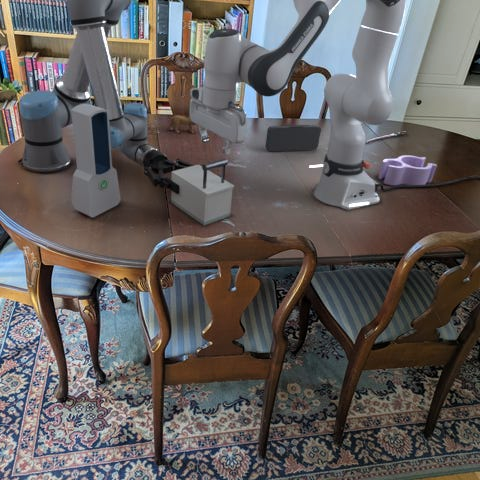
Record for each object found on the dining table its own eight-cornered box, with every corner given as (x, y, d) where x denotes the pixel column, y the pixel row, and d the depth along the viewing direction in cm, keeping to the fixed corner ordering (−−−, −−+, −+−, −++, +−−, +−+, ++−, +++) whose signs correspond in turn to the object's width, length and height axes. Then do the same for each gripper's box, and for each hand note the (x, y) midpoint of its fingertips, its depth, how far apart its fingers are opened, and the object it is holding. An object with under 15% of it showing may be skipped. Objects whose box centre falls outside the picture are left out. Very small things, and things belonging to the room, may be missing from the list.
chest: (230, 215, 141) (232, 187, 136) (203, 225, 135) (205, 196, 130) (196, 194, 151) (198, 166, 146) (171, 202, 145) (171, 174, 140)
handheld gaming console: (315, 147, 196) (319, 124, 190) (317, 149, 194) (322, 126, 188) (264, 149, 189) (267, 125, 183) (266, 152, 187) (269, 127, 181)
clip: (390, 188, 168) (396, 170, 164) (372, 173, 178) (376, 156, 174) (435, 185, 175) (441, 168, 171) (415, 170, 184) (420, 154, 181)
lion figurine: (198, 128, 202) (199, 107, 197) (202, 132, 198) (203, 111, 193) (165, 129, 197) (165, 108, 192) (167, 134, 193) (168, 112, 188)
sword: (403, 131, 224) (404, 129, 223) (408, 133, 222) (409, 131, 221) (360, 143, 208) (360, 140, 207) (365, 145, 206) (366, 142, 205)
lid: (233, 188, 136) (236, 162, 131) (206, 196, 130) (208, 169, 125) (198, 166, 146) (199, 142, 141) (171, 173, 140) (171, 148, 135)
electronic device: (90, 219, 132) (80, 115, 116) (71, 210, 135) (59, 108, 119) (121, 203, 141) (116, 105, 125) (103, 195, 144) (96, 99, 128)
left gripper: (179, 163, 164) (220, 187, 151) (122, 177, 151) (161, 206, 138) (180, 143, 160) (221, 166, 147) (121, 156, 147) (161, 183, 134)
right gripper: (255, 107, 116) (249, 158, 124) (204, 85, 128) (201, 134, 136) (236, 110, 113) (231, 163, 120) (186, 88, 125) (184, 137, 132)
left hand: (192, 185), depth 142 cm, fingers closed on chest, 10 cm apart
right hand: (215, 147), depth 128 cm, fingers open, 8 cm apart
